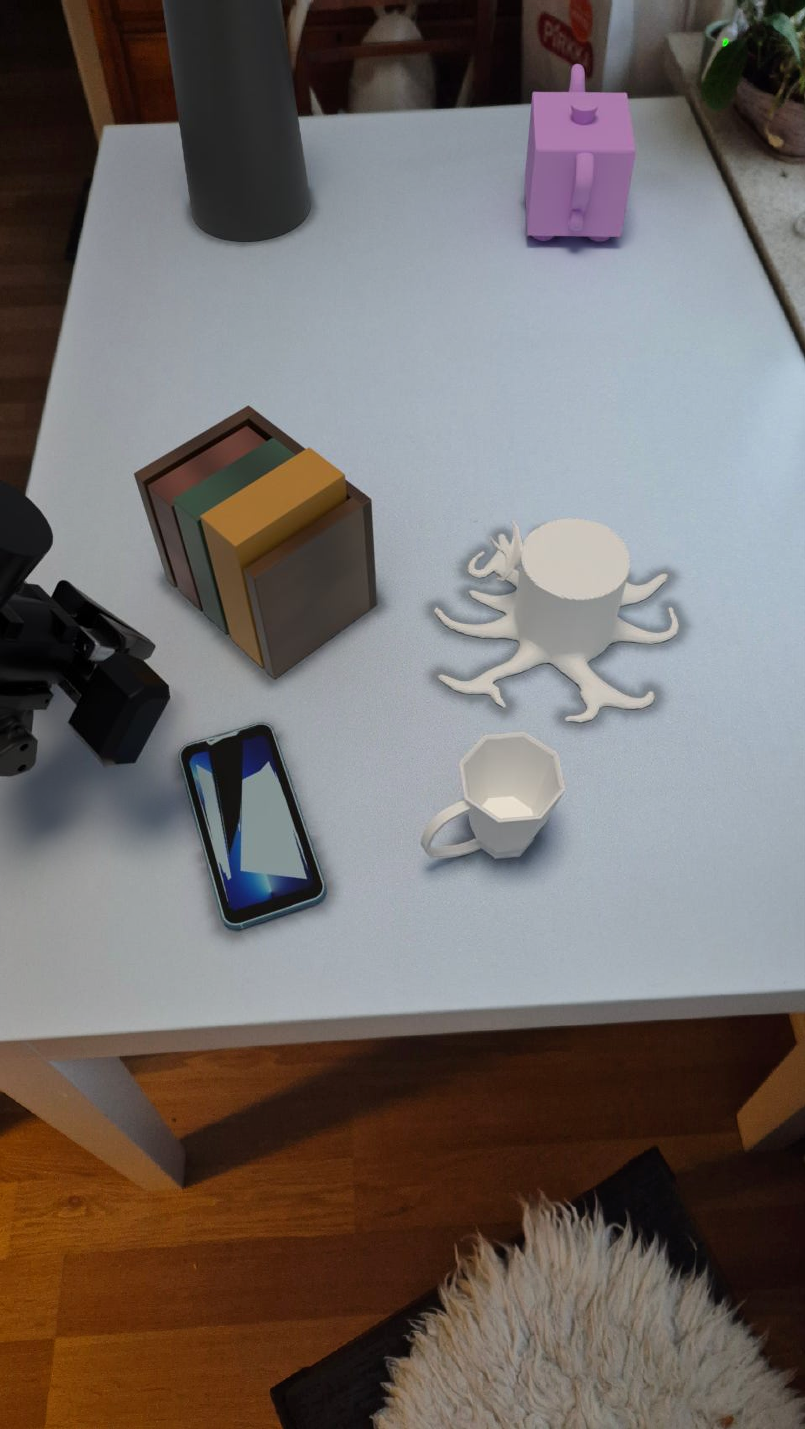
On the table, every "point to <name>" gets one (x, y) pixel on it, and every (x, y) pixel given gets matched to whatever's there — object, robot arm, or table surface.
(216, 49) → the vase
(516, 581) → the tree stump
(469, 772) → the cup
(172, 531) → the bookshelf
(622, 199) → the teapot
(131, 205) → the table surface
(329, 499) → the ochre book
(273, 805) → the smartphone
